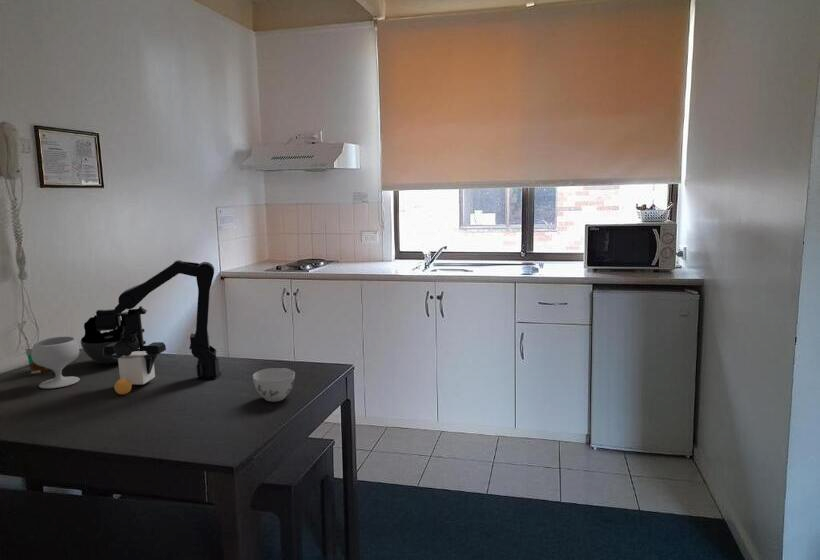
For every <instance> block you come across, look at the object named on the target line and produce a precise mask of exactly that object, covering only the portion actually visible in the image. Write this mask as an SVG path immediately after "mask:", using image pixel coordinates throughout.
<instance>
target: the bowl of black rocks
mask: <svg viewBox="0 0 820 560" xmlns="http://www.w3.org/2000/svg"><path fill="white" fill-rule="evenodd" d="M95 322H96V315H93V317H92V316H91V317H89V318H88V320H86V321H85V322H84V324H83V328H84V336H83V337H82V338H81V340H80V345H81V349H82V350H83V352H84V353H85V354H86V355H87V356H88V358H90V359H92V360H93V361H95V362H97V363H99V364H105V365H106V364H107V365H111V364H118V362H117V361H116V360H115V359H114V358H112V357H109V356H110V355H104V354H103V349H104V347H105V346H107V345H109V344H111V343H117V342H118V341H119V340H120V339H121V333H123V327H122V319H121V325H120V326H118V327H117V329H116V330H108V331H104V332H103V331H97V330H96V325H95ZM132 352H135V351H132Z"/></svg>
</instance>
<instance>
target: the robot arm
mask: <svg viewBox="0 0 820 560" xmlns="http://www.w3.org/2000/svg"><path fill="white" fill-rule="evenodd" d="M179 274H181V275H186V276H189V277H195V278H196V279H195V280H196V284H197V290H198V291H197V293H198V294H197V310H196V322H195V323H196V324H195V325H196V326H195V332H194V333H192V332H191V333H190V335H189V336H190V337H189V340H190V344H189V350H191V351H190V352H191V354H192V356H194V358H195V359H197V360H196V361H197V362H196V363H197V364H196V367H195V368H196V376H197V377H196V380H198V381H199V380H200V381H201V380H216V379H217V378H219V377H220V376H221V375H222V374H223V373H222V372H220V360H219V359H220V358H218V357H217V349H216V348H214V347H213V346H212V345H210V344H211V343H210V336H209V330H208V327H209V325H208V324H209V309H210V308H209V306H210V293H211V292H210V290H211V287H212V283H213V279H214V275H215V266H214V265H213V264H212V263H210V262H207V261H202V262H201V263H198V262H189V261H182V260H179V259H178V260H177V259H176V260H175V261H174V262H173V263H172V264H170V265H169V266H167V267H166V268H164V269H162V270H161V271H159V272H158V273H156V274H155V275H153V276H152V277H150V278H149V279H148V280H146V281H144V282H142V283H140V284H138V285H135V286H133V287H129V288H127V289H126V290H124V291H123V292H121V294H120V295H119V296H118V301H117V302H118V304H117V305H116V306H115V307H114V308H113V309H97V310H96V311H95V314H96V322H95V325H96V330H97V331H100V332H103V331H104V332H106V331H112V330H116V329H117V327H118V326H120V325H121V320H122V327H123V333H121V339H120V340H119V341H118V342H117V343H111V344H109V345H107V346H105V347H104V349H103V354H104V355H110V356H109V357H112V358H114V359H115V360H116V361H117V362H118V358H120V357H122V356H129V355H131V353H132V351H134V352H146V353H147V355H145V356H144V357H145V359H146V365H147V373H148V374H150V373H151V370H152V367H153V364H154V365H155V361H156V358H157V356H158V355H160V354H162V353H164V352H165V351H166V350H167V348H166V347H167V345H166V344H165V343H164V342H159V341H158V342H157V341H156V342H155V341H154V342H151V343H149V344H148V345H146V343H147V342H146V340H144V336H143V333H145V329H144V328H143V325H142V316H141V315H145V314H146V313H147V312H148V310H147V309H146V308H143V306H142V305H139V307H138V308H136V306H138V304H139V303H141V301H143V300H144V299H145V298H146V297H147V296H148V295H149V294H150V293H152V292H153V291H154V290H156V289H158V288H159V287H161V286H162V285H164V284H165V283H167V282H169V281H170V280H171V279H172V278H174V277H176V276H177V275H179ZM134 308H135V309H134ZM126 310H127V311H126ZM124 311H125V312H124Z"/></svg>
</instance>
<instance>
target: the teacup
mask: <svg viewBox="0 0 820 560" xmlns="http://www.w3.org/2000/svg"><path fill="white" fill-rule="evenodd" d="M295 376H296V372H295V371H294V370H292V369H291V368H286V367H282V368H279V367H276V368H273V367H270V368H269V367H268V368H264V369H261V370H258V371H255V372H254V373H253V374H252V379H253V384H254V386H255V389H256V391H257V393H258V394H259V395H260V396H261V397H262V398H263V399H264V400H265V401H267V402H281V401H283V400H284V399H285V398H286V397H287V396H288V394H290V392H291V390H292V389H293V386H294V382H295Z"/></svg>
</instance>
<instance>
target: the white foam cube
mask: <svg viewBox="0 0 820 560" xmlns="http://www.w3.org/2000/svg"><path fill="white" fill-rule="evenodd" d="M145 355H147V353H146V351H134V352H132V353H131V355H129V356H122V357H120V358H118V363H117V364H118V372H119V380H120V379H128V380H129V381H130V382H131V384H132V385H145V384H147V383H148V382H149V381H151V380H153V379H154V378H156V373H155V363H154V364H153V367H152V370H151V373H150V374H148V373H147V365H146V359H145V357H144V356H145Z"/></svg>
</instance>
